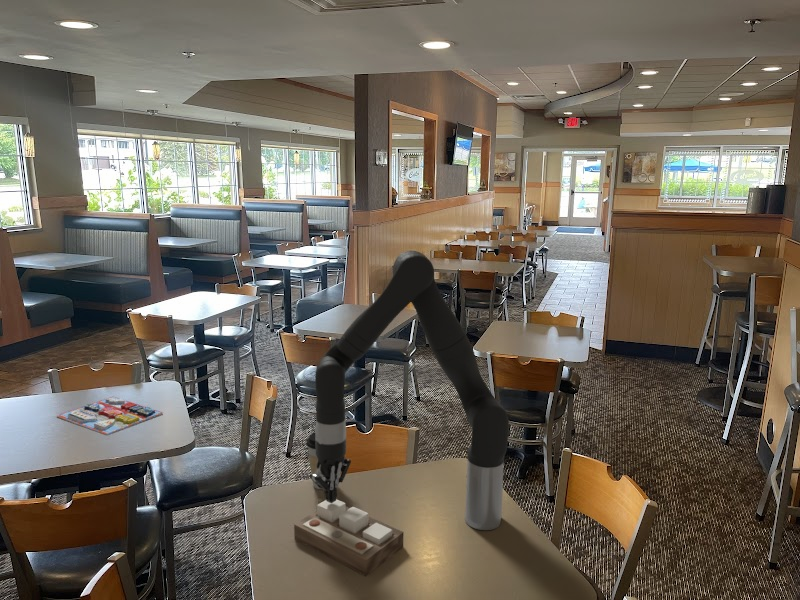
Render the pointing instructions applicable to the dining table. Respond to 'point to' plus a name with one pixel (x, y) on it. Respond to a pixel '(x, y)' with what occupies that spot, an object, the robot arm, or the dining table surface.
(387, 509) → the dining table surface
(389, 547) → the button panel
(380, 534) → the button
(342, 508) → the button
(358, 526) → the button
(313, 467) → the coffee cup
